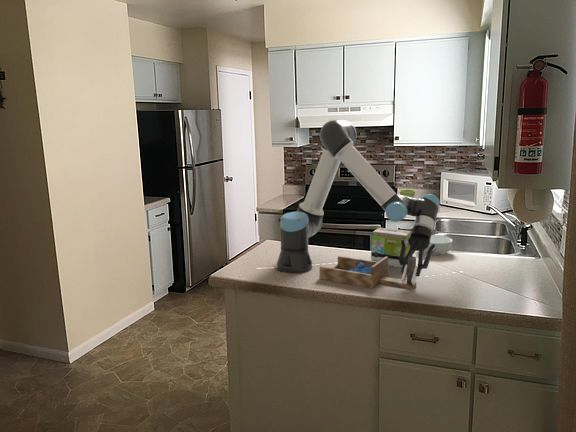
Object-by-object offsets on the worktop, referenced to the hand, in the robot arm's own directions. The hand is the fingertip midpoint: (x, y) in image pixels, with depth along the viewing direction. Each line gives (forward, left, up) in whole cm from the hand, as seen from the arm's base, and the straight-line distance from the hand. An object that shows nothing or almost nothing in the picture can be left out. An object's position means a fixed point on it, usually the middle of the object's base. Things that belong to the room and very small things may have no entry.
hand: (407, 282), depth 181 cm
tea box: (+12, +32, -3) cm, 34 cm away
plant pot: (+98, +153, -3) cm, 182 cm away
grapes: (-4, +17, +1) cm, 17 cm away
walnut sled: (-8, +15, -3) cm, 17 cm away
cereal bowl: (+40, +40, -3) cm, 57 cm away
